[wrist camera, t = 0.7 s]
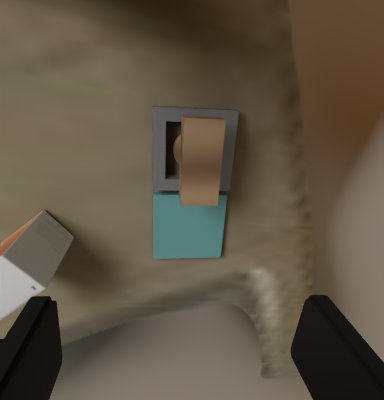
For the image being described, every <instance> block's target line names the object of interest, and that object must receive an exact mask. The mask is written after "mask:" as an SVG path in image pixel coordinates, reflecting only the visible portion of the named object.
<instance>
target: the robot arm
mask: <svg viewBox="0 0 384 400" xmlns="http://www.w3.org/2000/svg"><path fill="white" fill-rule="evenodd" d="M291 356H292V359H293V361H294V363H295V365H296V367H297V369H298V371H299V373H300V375H301V377H302V379H303V381H304V383H305V385H306V386H307V388H308V390H309V392H310V394H311V396H312V398H313V400H384V362H383V361H382V360H381V359H380V358H379V357H378V356H377V354H376V353H375V352H374V351H373V349H372V348H371V347H370V346H369V345H368V343H367V342H366V341H365V340H364V339H363V338H362V336H361V335H360V334H359V333H358V332H357V331H356V329H355V328H354V327H353V326H352V325H351V323H350V322H349V321H348V320H347V319H346V318H345V316H344V315H343V314H342V313H341V312H340V310H339V309H338V308H337V307H336V306H335V304H334V303H333V302H332V301H331V300H330V299H329V297H328V296H326V295H311V296H309V298H308V299H306V300H305V303H304V306H303V309H302V313H301V316H300V319H299V323H298V326H297V329H296V333H295V336H294V339H293V342H292V346H291ZM61 363H62V349H61V339H60V330H59V320H58V311H57V302H56V301H52V300H51V297H50V296H32V297H31V298H30V299H29V300H28V302H27V304H26V305H25V307H24V308H23V310H22V311H21V313H20V315H19V316H18V318H17V319H16V321H15V322H14V324H13V326H12V327H11V329H10V330H9V332H8V333H7V335H6V337H5V338H4V339H0V400H49V398H50V395H51V393H52V390H53V387H54V384H55V381H56V379H57V375H58V373H59V370H60V367H61Z"/></svg>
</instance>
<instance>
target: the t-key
mask: <svg viewBox="0 0 384 400" xmlns="http://www.w3.org/2000/svg"><path fill="white" fill-rule="evenodd" d="M225 124H226V120H225V119H223V118H221V117H214V116H192V115H182V119H181V133H180V134H179V135H178V136H177V137H176V139H175V141H174V144H173V153H174V157H175V159H176V161H177V162H178V164H179V165H180V173H179V199H180V204H181V206H218V196H219V186H220V176H221V165H222V155H223V145H224V135H225Z"/></svg>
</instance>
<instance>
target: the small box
mask: <svg viewBox="0 0 384 400" xmlns="http://www.w3.org/2000/svg"><path fill="white" fill-rule="evenodd" d="M73 239H74V236H72V235H71V234H70V233H69V232H68V231H67V230H66V229H65V228H64V227H63V226H61V225H60V224H59V223H58V222H57V221H56V220H55V219H54V218H53V217H51V216H50V215H49V214H48V213H47V212H46V211H45V210H42V211H41V212H40V213H38V214H37V215H36V216H35V217H34V218H32V219H31V220H30V221H29V222H27V223H26V224H25V225H23V226H22V227H21V228H19V229H18V230H17V231H15V232H14V233H13V234H11V235H10V236H9V237H7V238H6V239H5V240H3V241H2V242H1V243H0V321H1V320H2V319H3V318H5V317H6V316H7V315H9V314H10V313H11V312H13V311H14V310H16V309H17V308H18V307H20V306H21V305H23V304H24V303H26V302H27V301H28V300H29V299H30V298H31V297H32V296H36V295H37V294H39V293H41V292H42V291H44V290H45V289H46V288H47V287H48V285H49V283H50V281H51V279H52V277H53V275H54V274H55V272H56V270H57V268H58V266H59V265H60V263H61V261H62V259H63V257H64V256H65V254H66V252H67V250H68V248H69V246H70V244H71V243H72V241H73Z"/></svg>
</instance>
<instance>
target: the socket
mask: <svg viewBox="0 0 384 400" xmlns="http://www.w3.org/2000/svg"><path fill="white" fill-rule="evenodd" d="M182 115H192V116H214V117H221V118H223V119H225V120H226V124H225V135H224V145H223V155H222V165H221V176H220V186H219V191H230V187H231V178H232V169H233V160H234V151H235V143H236V134H237V125H238V116H239V111H237V110H229V109H209V108H189V107H168V106H153V190H162V191H179V175H165V156H166V121H173V122H181V119H182Z"/></svg>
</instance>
